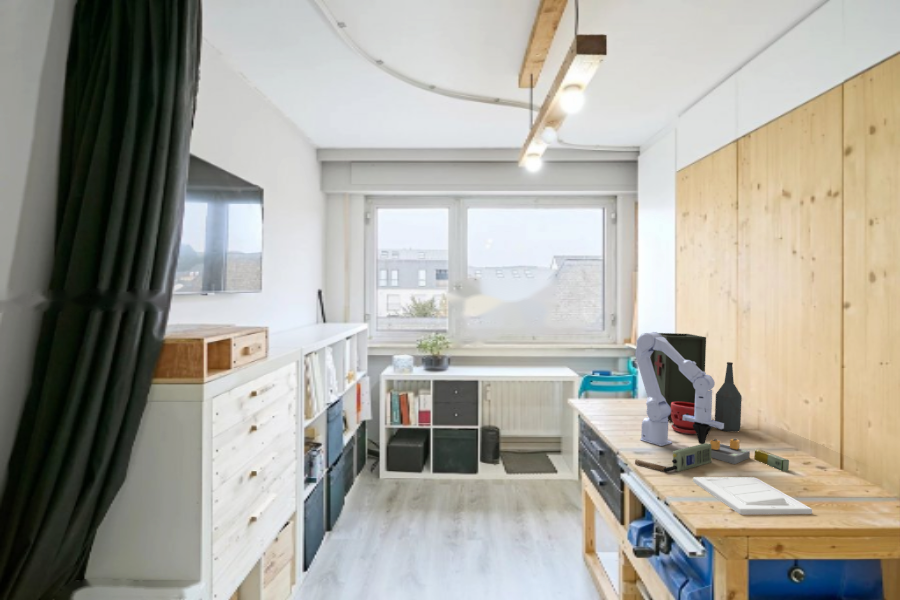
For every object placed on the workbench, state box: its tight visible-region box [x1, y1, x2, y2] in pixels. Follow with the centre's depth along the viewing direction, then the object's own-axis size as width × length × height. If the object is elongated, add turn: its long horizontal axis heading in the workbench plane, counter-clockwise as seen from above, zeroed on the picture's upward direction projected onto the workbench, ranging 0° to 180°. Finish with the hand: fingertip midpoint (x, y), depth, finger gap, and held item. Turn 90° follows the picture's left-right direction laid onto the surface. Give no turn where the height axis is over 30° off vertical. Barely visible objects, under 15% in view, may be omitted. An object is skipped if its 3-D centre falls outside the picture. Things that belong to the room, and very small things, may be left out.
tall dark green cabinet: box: [650, 332, 707, 422], centre depth 237 cm, size 18×18×40 cm
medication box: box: [753, 449, 790, 472], centre depth 171 cm, size 12×3×4 cm, turn 13°
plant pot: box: [671, 402, 697, 435], centre depth 212 cm, size 13×13×12 cm
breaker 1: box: [709, 438, 721, 450], centre depth 179 cm, size 2×2×3 cm
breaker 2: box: [729, 437, 741, 450], centre depth 180 cm, size 2×2×3 cm
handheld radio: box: [664, 442, 712, 473], centre depth 167 cm, size 7×3×25 cm
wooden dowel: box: [634, 458, 667, 473], centre depth 166 cm, size 10×2×2 cm
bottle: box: [714, 361, 742, 433], centre depth 217 cm, size 10×10×30 cm
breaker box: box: [711, 443, 751, 465], centre depth 180 cm, size 12×12×3 cm
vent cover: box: [692, 476, 813, 515], centre depth 144 cm, size 23×3×21 cm
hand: (701, 443), depth 183 cm, fingers closed
